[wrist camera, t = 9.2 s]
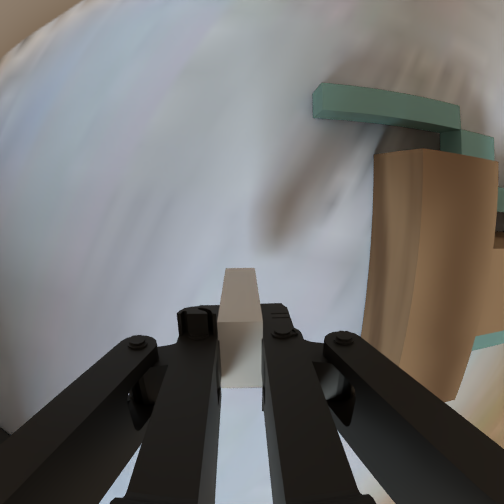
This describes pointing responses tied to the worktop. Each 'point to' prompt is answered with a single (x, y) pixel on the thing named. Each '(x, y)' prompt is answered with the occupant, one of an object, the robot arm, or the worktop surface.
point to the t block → (433, 263)
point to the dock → (411, 116)
